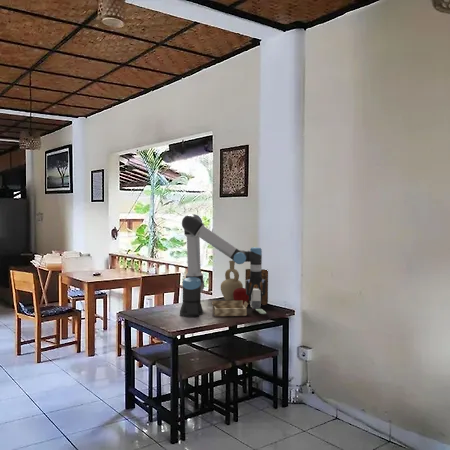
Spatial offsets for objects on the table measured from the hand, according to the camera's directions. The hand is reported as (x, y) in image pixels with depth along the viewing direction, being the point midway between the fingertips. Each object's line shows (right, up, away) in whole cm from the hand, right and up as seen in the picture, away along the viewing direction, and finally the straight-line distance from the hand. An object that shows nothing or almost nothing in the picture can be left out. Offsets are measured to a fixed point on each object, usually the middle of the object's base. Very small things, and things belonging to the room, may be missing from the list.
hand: (255, 305), depth 324 cm
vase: (-15, -3, +38) cm, 41 cm away
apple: (-9, -4, +22) cm, 24 cm away
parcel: (0, -1, 0) cm, 1 cm away
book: (+2, -4, +28) cm, 28 cm away
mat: (0, -4, 0) cm, 4 cm away
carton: (-18, -5, -11) cm, 21 cm away
